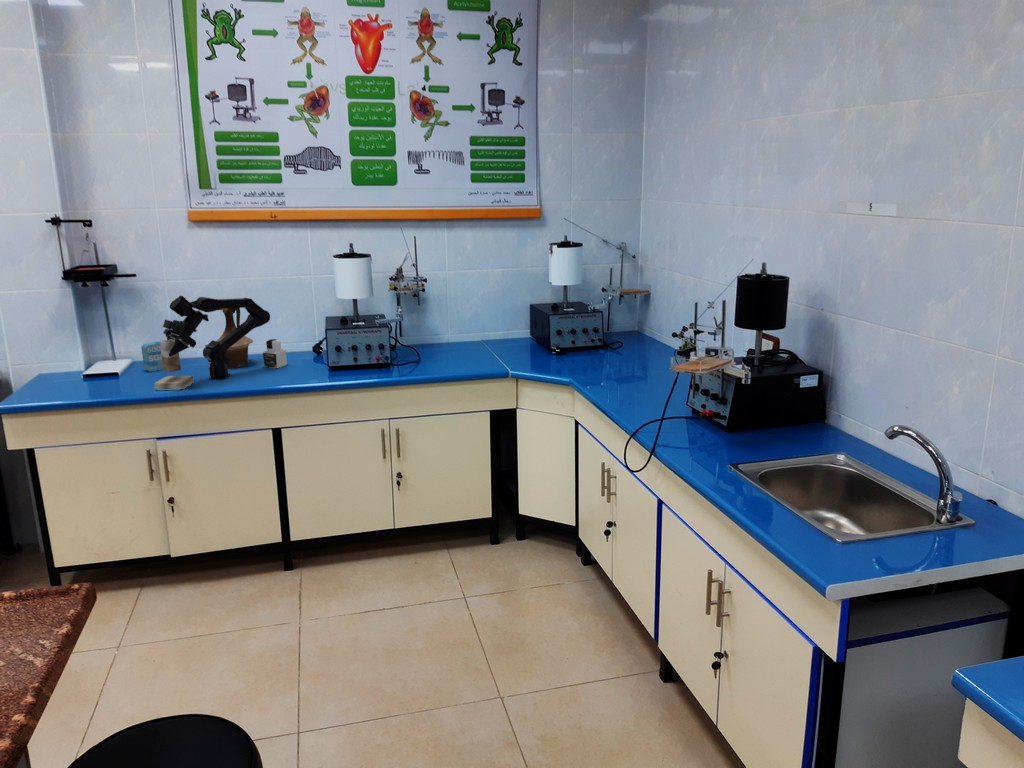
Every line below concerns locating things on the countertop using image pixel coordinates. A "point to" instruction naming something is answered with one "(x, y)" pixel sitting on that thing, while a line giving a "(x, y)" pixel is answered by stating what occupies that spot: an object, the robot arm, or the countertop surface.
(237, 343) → the pitcher
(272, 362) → the medicine bottle
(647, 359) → the countertop surface
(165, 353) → the gray square block
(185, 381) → the beige square block
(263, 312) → the robot arm
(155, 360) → the data package
